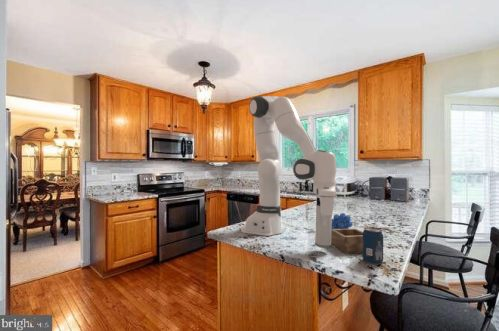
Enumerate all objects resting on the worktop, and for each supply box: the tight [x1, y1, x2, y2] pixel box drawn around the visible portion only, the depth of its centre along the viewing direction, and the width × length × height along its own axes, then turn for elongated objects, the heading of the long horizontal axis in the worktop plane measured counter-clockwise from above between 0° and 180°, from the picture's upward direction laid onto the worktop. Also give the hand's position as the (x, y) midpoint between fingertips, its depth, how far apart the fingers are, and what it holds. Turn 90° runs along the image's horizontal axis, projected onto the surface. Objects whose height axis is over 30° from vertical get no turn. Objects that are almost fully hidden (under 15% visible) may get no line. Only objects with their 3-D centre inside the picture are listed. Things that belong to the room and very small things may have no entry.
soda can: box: [361, 227, 384, 265], centre depth 88 cm, size 7×7×12 cm
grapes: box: [332, 212, 353, 229], centre depth 120 cm, size 12×7×12 cm, turn 82°
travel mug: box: [314, 197, 333, 249], centre depth 96 cm, size 6×7×20 cm
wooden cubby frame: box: [331, 228, 363, 254], centre depth 102 cm, size 12×11×7 cm
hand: (323, 222), depth 96 cm, fingers closed on travel mug, 6 cm apart
